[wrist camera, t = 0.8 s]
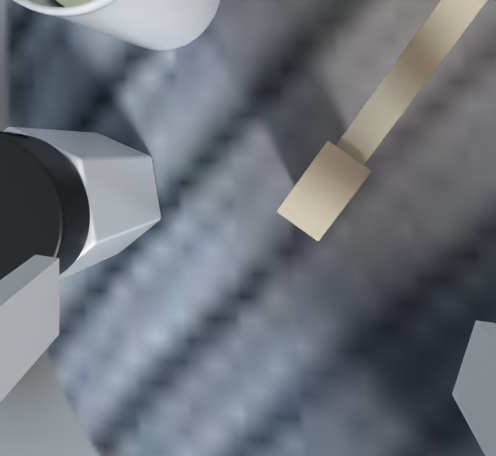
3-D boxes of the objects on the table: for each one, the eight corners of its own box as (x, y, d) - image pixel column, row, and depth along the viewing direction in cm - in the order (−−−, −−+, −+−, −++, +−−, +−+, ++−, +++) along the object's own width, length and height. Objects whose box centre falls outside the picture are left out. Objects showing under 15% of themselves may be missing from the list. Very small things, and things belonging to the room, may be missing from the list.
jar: (117, 110, 33) (-5, 89, 21) (186, 201, 33) (101, 229, 22) (35, 185, 35) (-116, 203, 24) (99, 271, 35) (-20, 329, 24)
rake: (384, 255, 31) (403, 303, 21) (240, 152, 32) (195, 152, 22) (695, -126, 25) (923, -306, 15) (503, -244, 25) (602, -487, 16)
